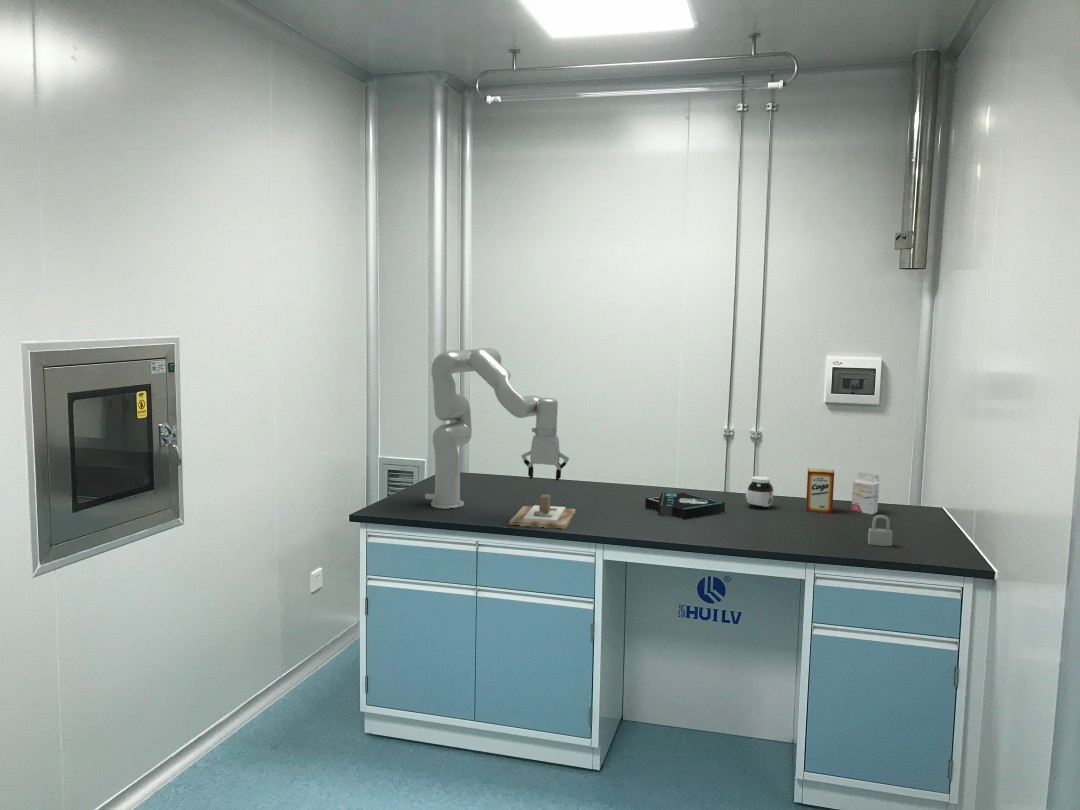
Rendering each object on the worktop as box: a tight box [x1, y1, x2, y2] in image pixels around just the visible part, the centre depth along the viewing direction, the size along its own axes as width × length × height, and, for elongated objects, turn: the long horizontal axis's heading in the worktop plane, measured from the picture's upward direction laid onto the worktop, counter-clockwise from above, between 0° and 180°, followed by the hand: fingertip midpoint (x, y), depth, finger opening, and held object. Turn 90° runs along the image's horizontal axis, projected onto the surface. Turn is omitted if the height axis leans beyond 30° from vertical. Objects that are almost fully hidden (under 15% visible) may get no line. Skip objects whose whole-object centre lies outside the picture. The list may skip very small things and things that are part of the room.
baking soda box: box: [805, 467, 835, 514], centre depth 319 cm, size 10×6×16 cm
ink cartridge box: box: [850, 471, 880, 515], centre depth 318 cm, size 9×5×15 cm, turn 47°
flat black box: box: [644, 492, 726, 520], centre depth 318 cm, size 30×4×30 cm
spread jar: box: [745, 475, 774, 510], centre depth 326 cm, size 12×11×12 cm
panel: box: [523, 494, 567, 523], centre depth 300 cm, size 12×20×7 cm, turn 169°
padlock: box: [867, 514, 894, 547], centre depth 272 cm, size 7×4×10 cm, turn 75°
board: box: [508, 504, 577, 530], centre depth 301 cm, size 20×24×4 cm
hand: (544, 479), depth 299 cm, fingers open, 9 cm apart
